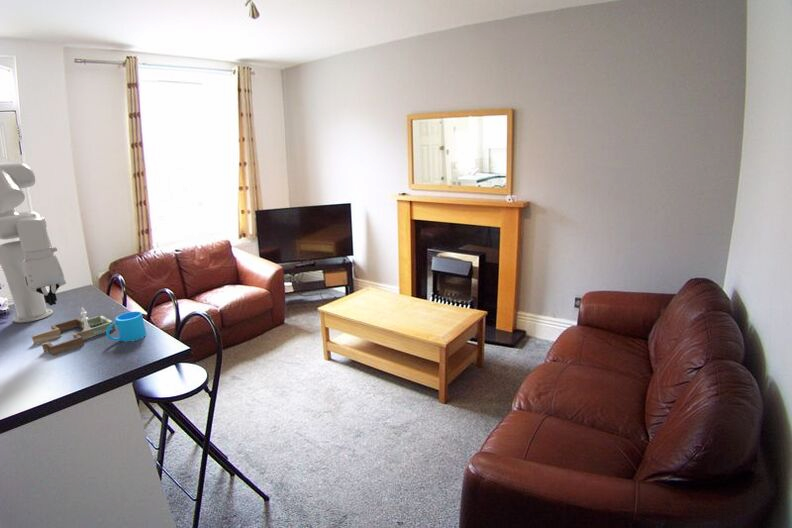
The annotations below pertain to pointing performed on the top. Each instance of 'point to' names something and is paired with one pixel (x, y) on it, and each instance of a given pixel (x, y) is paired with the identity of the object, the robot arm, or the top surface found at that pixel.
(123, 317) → the mug
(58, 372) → the top surface
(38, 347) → the top surface
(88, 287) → the top surface
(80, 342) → the box
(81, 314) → the chess piece
